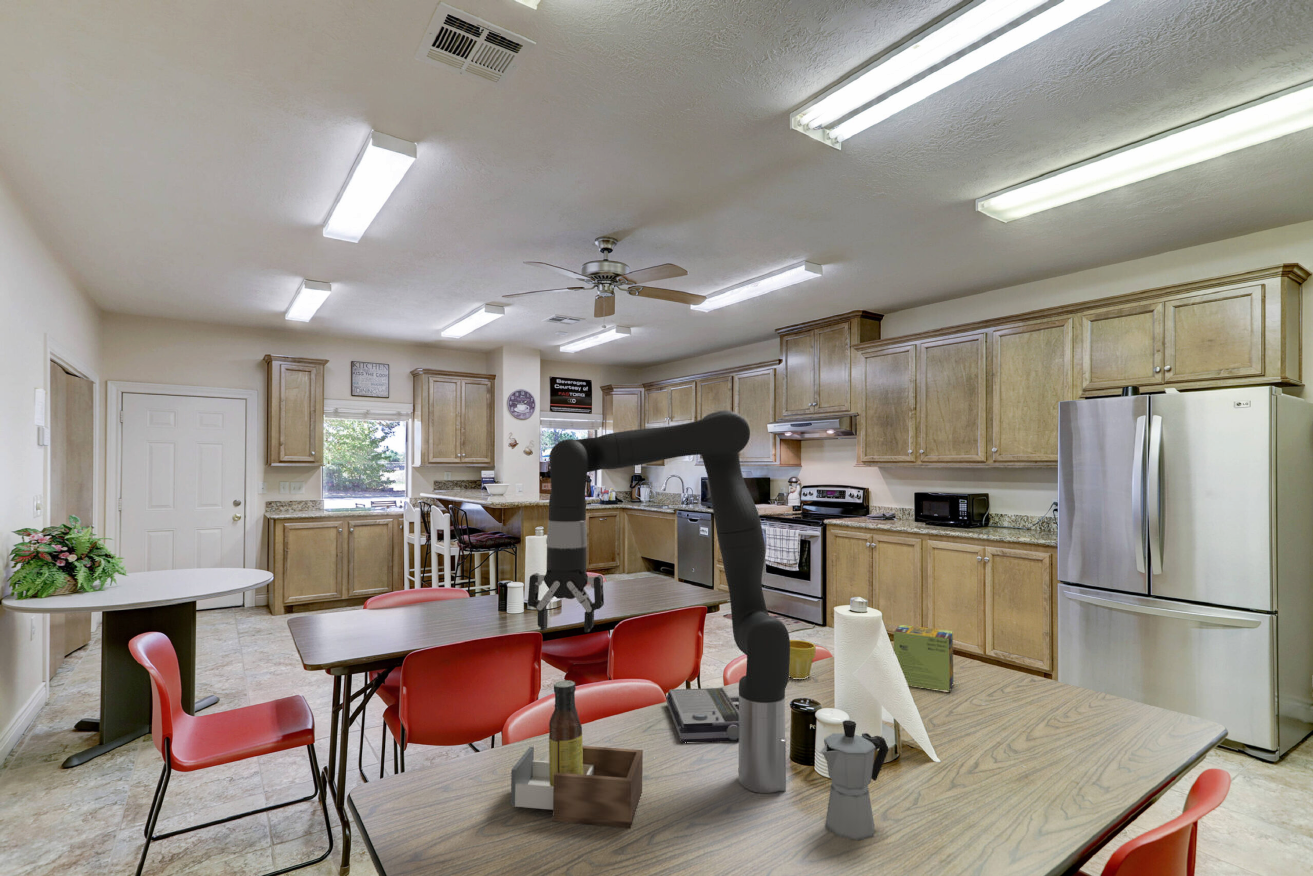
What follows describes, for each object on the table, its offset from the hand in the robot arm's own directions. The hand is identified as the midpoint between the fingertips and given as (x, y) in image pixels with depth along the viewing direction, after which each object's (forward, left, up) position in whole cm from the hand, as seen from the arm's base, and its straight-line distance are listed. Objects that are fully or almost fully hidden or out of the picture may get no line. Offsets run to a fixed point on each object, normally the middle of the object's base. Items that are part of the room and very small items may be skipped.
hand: (565, 630), depth 122 cm
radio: (-25, -43, -32) cm, 60 cm away
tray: (+2, 0, -31) cm, 31 cm away
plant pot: (-50, -84, -32) cm, 102 cm away
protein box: (-86, -83, -32) cm, 124 cm away
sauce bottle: (0, 0, -30) cm, 30 cm away
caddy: (-7, 0, -32) cm, 33 cm away
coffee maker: (-53, -1, -32) cm, 62 cm away
